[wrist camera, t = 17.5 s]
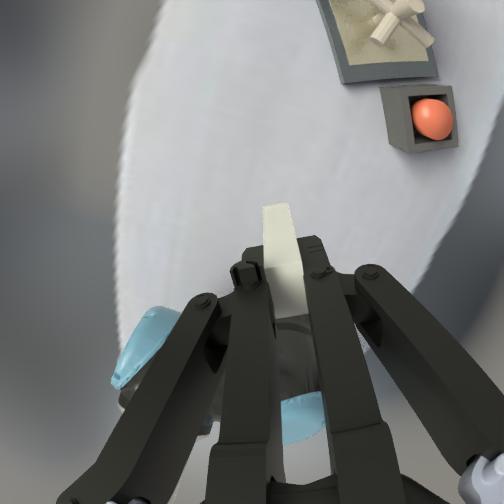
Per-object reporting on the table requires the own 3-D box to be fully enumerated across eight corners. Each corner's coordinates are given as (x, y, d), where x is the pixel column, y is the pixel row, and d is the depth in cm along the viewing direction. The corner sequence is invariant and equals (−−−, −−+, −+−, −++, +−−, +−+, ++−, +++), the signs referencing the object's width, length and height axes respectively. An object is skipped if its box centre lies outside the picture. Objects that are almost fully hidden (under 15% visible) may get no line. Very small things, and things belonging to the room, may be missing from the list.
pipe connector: (425, 23, 23) (469, 13, 15) (392, 72, 28) (434, 70, 19) (363, -25, 21) (393, -53, 12) (326, 23, 25) (349, 2, 17)
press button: (441, 133, 29) (454, 138, 26) (411, 137, 30) (423, 142, 27) (437, 97, 26) (450, 99, 24) (405, 99, 27) (417, 100, 25)
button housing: (435, 137, 33) (458, 146, 28) (389, 143, 34) (408, 153, 29) (427, 84, 29) (451, 86, 24) (379, 87, 30) (398, 88, 25)
